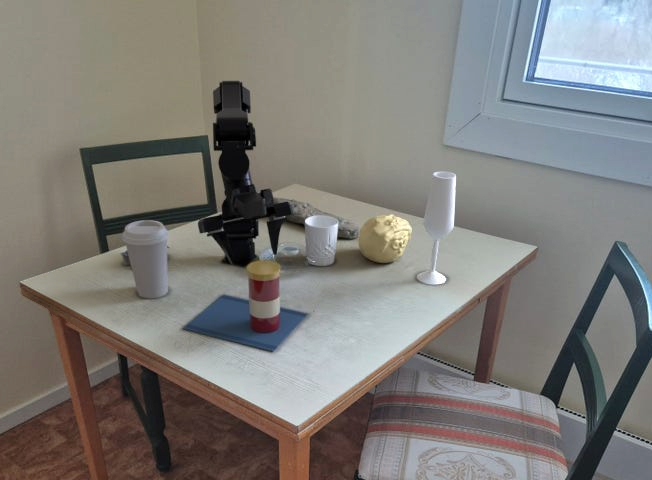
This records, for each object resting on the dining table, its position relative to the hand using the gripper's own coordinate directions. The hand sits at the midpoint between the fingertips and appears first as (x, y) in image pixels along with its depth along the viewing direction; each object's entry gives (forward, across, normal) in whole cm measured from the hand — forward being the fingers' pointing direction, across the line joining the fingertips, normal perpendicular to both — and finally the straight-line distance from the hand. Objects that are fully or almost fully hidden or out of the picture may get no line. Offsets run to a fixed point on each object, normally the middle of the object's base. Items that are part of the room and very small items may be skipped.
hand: (254, 259), depth 132 cm
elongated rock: (-4, +29, +41) cm, 50 cm away
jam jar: (+13, -2, -6) cm, 14 cm away
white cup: (+5, +21, +18) cm, 28 cm away
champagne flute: (+13, +41, +1) cm, 43 cm away
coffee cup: (+3, -20, +16) cm, 26 cm away
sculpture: (+8, +36, +14) cm, 39 cm away
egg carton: (-3, -17, +32) cm, 36 cm away
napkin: (+12, -5, -2) cm, 13 cm away
